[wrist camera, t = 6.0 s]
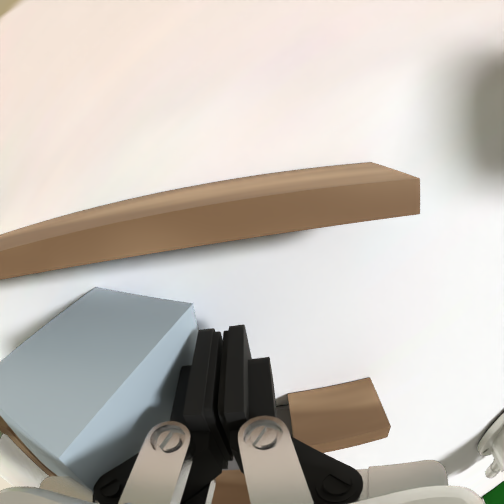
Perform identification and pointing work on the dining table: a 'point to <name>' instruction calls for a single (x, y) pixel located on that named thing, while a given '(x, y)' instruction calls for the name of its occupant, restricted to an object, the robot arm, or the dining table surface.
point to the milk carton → (495, 495)
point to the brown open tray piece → (222, 230)
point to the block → (97, 380)
